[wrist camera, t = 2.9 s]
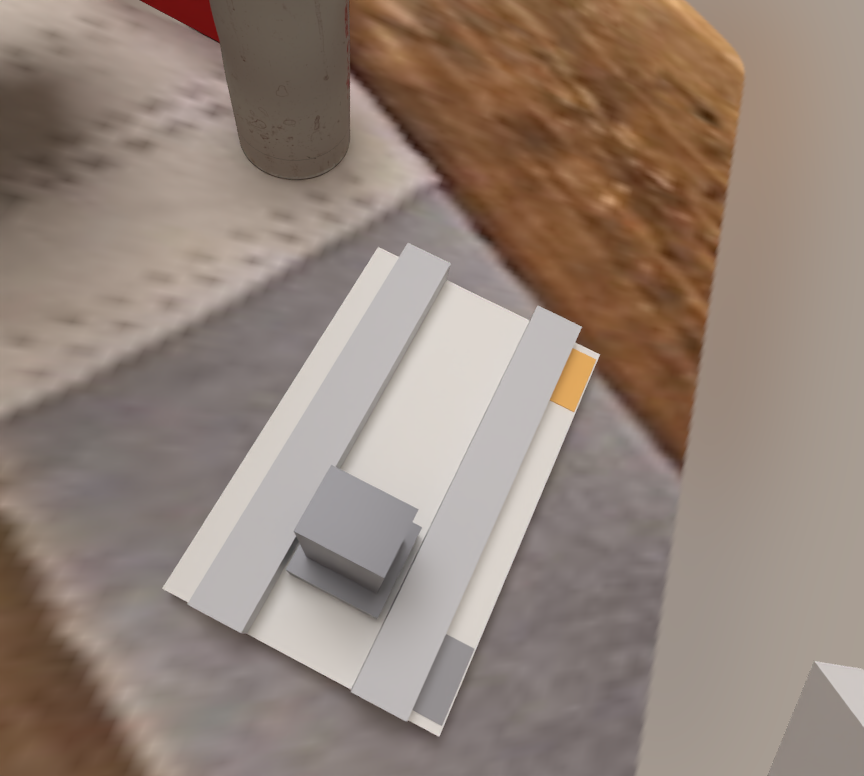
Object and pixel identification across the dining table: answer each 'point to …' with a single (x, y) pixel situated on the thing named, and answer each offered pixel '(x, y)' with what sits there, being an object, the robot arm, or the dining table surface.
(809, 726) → the robot arm
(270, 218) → the dining table surface
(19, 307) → the dining table surface
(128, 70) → the dining table surface
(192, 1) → the red rectangular block
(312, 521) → the switch lever
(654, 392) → the dining table surface
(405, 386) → the switch board
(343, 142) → the thermos bottle
